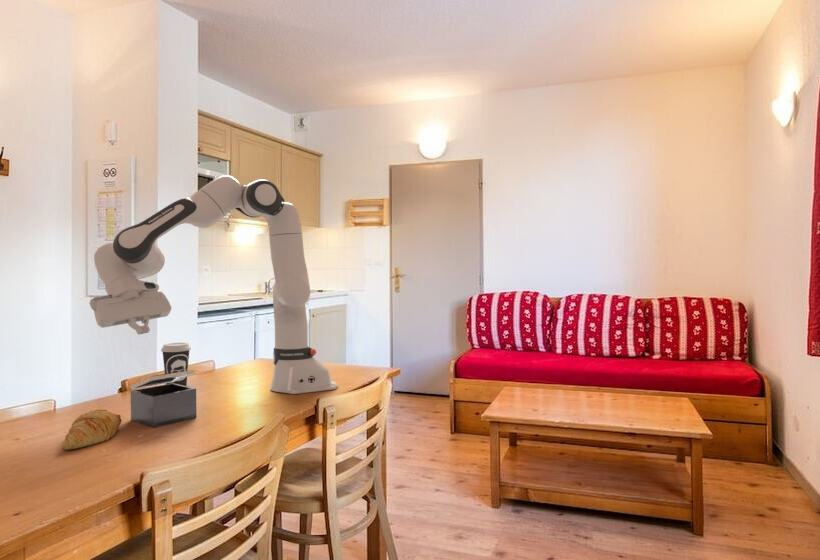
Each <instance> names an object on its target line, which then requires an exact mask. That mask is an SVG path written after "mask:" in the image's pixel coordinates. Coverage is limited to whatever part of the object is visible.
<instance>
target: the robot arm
mask: <svg viewBox="0 0 820 560" xmlns="http://www.w3.org/2000/svg"><path fill="white" fill-rule="evenodd" d="M233 210H236V211H238V212H240V213H241V214H242V215H244V216H246V217H249V218H252V219H253V218H259V217H263V218H264V219H265V221H266V224H267V227H268V239H269V248H270V256H271V257H270V258H271V263H272V269H273V275H274V283H273V287H272V303H273V305H272V306H273V319H274V347H273V351H272V352H273V353H272V357H273V364H274V367H273V375H272V381H271V385H270V388H269V389H270V391H272V392H276V393H286V394H292V395H295V394H296V395H297V394H306V393H314V392H315V393H316V392H322V391H330V390H332V391H333V390H335V389H337V388H338V385H337V384H338V383H337V382H336V381H335V380H332V379H331V374H330V371H329V368H327V366H325V365H324V364H323V363H321V362H320V361H319V360H318V359H316V358H315V357H314V356H316V354H317V350H316V349H315V348H312V347H310V346H309V342H308V341H309V339H308V337H309V335H308V334H309V333H308V331H309V330H308V327H309V323H308V320H307V309H306V303H307V302H308V301H309V299H310V297H311V285H310V279H309V274H308V268H307V263H306V258H305V250H304V249H305V247H304V240H303V232H302V231H303V229H302V224H301V219H300V214H299V212H298V209H297V207H296V205H294V204H293V203H290V202H287V201H285V199H284V197H283V195H282V194H281V192H280V190H279V188H278V187H277V185H275V184H274V183H273V182H272V181H270V180H267V179H257V180H254V181H253V182H250V183H248V184H247V185H243V184H241V183H240V182H239V181H238V180H237V179H236V178H234V176H231V175H226V174H225V175H221V176H218V177H217V178H215V179H213V180H210V181H209V182H208V183H207V184H205V185H203V186H202V187H201V188H199V190H197V191H195V192H194V193H193V194H191V195H189V196H187V197H185V198H180V199H178V200H176V201H174V202H171V203H170V204H168V205H167V206H165V207H163V208H162V209H160V210H158V211H157V212H155V213H154V214H152V215H151V216H149V217H148V218H146V219H145V220H143V221H140V222H139V223H137V224H134V225H131V226H128V227H125V228H123V229H122V230H120V231H119V232H117V235H116V236H115V237H114V240H113V241H112V242H108V243H105V244H103V245H101V246H100V247H98V248H97V249H96V251H95V253H94V255H93V259H94V260H93V262H94V266H95V268H96V272H97V274H98V276H99V279H100V280H101V281H102V282H103V284H104V289H105V291H106V293H107V295H101V296H94V297H93V298H91V300H90V301H89V305H90V308H91V310H92V311H93V313H94V317H95V321H96V324H97V326H98V327H100V328H102V329H104V328H109V327H114V326H120V325H126V324H128V326H129V327H130V328H131V329H133V330H134V331H135V332H136V334H137V335H138V336H139V335H144V334H148V333H150V331H151V330H150V327H149V322H150V320H154V319H158V318H166V317H168V316H169V315H170V313H171V310H172V304H170V301H169V300H168V297H167V296H166V295H165V294H164V292H163V291H162V290H161V291H160V290H159V289H160V285H159V283H157V282H151V281H146V280H145V281H144V280H141V279H145V278H148V277H151V276H153V275H156V274H158V273H159V272H160V271H161V270H162V269H163V268H164V265H165V259H166V258H165V256H164V253H163V252H162V251H161V250H160V248H159V246H158V245H156V241H158V239H159V238H161V237H162V236H164V235H166V234H167V233H169V232H170V231H172V230H173V229H175V228H176V227H178V226H180V225H182V224H183V225H184V224H188V225H192V226H194V227H197V228H202V229H204V228H205V229H207V228H209V227H211V226H214V225H215V224H217V223H218V222H221V220H222V219H223V218H224V217H225V216H226V215H228V214H229V213H230V212H231V211H233ZM138 322H141V324H143V325H139V324H138Z"/></svg>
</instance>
